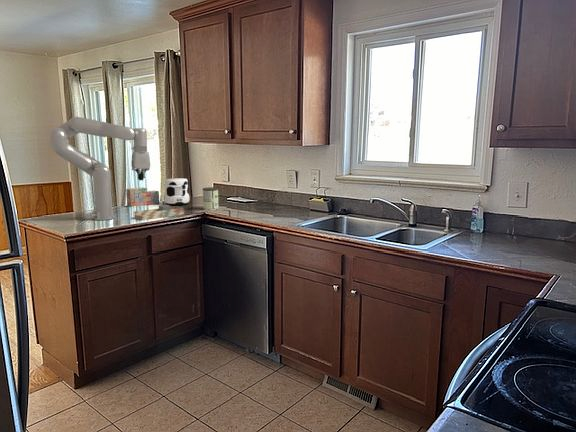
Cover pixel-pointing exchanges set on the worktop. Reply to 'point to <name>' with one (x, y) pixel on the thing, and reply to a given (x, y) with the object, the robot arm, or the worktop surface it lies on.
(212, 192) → the coffee can
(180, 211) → the lane
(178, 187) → the milk container
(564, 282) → the worktop surface
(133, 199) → the stack of blocks
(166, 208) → the block
